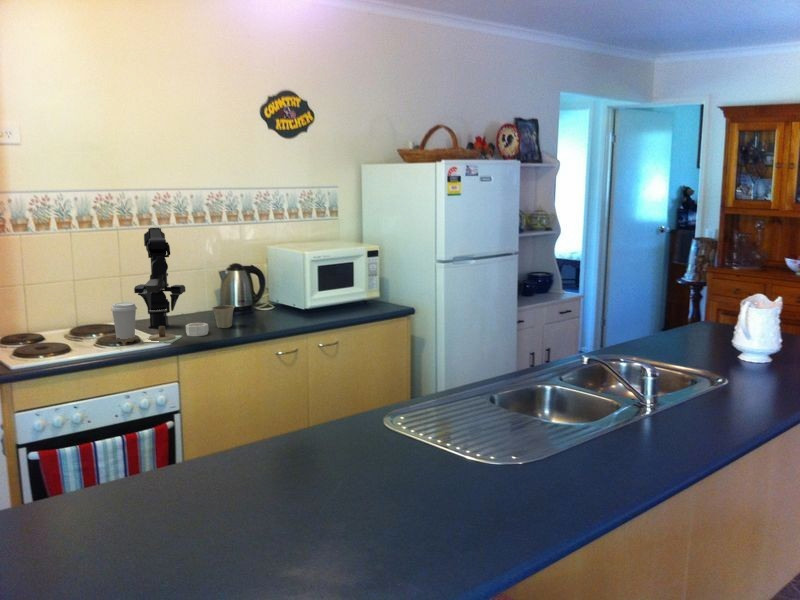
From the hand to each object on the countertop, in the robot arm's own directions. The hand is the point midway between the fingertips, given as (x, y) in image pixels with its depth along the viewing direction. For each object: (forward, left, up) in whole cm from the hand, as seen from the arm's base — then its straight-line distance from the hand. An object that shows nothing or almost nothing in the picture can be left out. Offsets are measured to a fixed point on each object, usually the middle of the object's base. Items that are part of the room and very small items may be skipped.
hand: (161, 310), depth 290 cm
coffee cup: (-13, -4, -12) cm, 18 cm away
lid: (0, 0, -11) cm, 11 cm away
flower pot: (+16, +28, -12) cm, 34 cm away
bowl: (+10, +12, -12) cm, 19 cm away
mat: (0, 0, -12) cm, 12 cm away
